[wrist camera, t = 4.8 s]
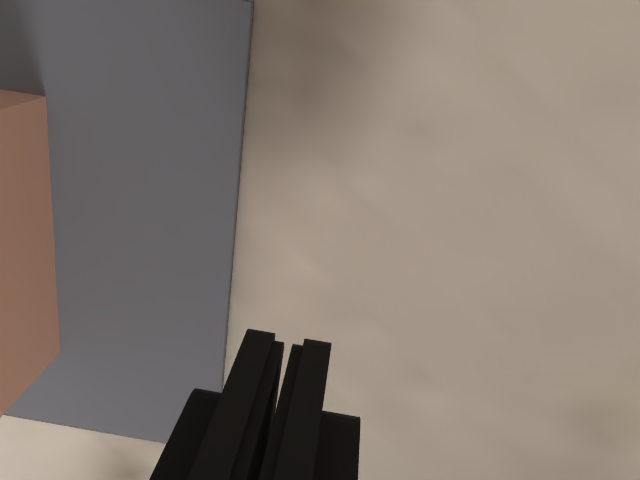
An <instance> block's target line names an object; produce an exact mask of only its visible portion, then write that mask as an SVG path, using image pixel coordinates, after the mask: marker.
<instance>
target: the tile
mask: <svg viewBox="0 0 640 480" xmlns="http://www.w3.org/2000/svg"><path fill="white" fill-rule="evenodd" d="M59 352H60V338H59V321H58V303H57V285H56V267H55V249H54V231H53V213H52V195H51V178H50V160H49V142H48V124H47V106H46V96H40V95H33V94H27V93H20V92H14V91H8V90H1V89H0V417H1V416H2V415H3V414H4V413H5V412H6V411H7V410H8V409H9V408H10V406H11V405H12V404H13V403H14V402H15V401H16V400H17V399H18V398H19V396H20V395H21V394H22V393H23V392H24V391H25V390H26V389H27V388H28V387H29V385H30V384H31V383H32V382H33V381H34V380H35V379H36V378H37V377H38V376H39V374H40V373H41V372H42V371H43V370H44V369H45V368H46V367H47V366H48V364H49V363H50V362H51V361H52V360H53V359H54V358H55V357H56V356H57V355H58V353H59Z"/></svg>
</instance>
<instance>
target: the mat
mask: <svg viewBox="0 0 640 480" xmlns="http://www.w3.org/2000/svg"><path fill="white" fill-rule="evenodd" d="M253 8H254V2H252V1H245V0H0V89H1V90H8V91H14V92H20V93H27V94H33V95H40V96H46V106H47V124H48V142H49V160H50V178H51V195H52V213H53V231H54V249H55V267H56V285H57V303H58V321H59V338H60V352H59V353H58V355H57V356H56V357H55V358H54V359H53V360H52V361H51V362H50V363H49V364H48V366H47V367H46V368H45V369H44V370H43V371H42V372H41V373H40V374H39V376H38V377H37V378H36V379H35V380H34V381H33V382H32V383H31V384H30V385H29V387H28V388H27V389H26V390H25V391H24V392H23V393H22V394H21V395H20V396H19V398H18V399H17V400H16V401H15V402H14V403H13V404H12V405H11V406H10V408H9V409H8V410H7V411H6V412H5V413H4V414H3V415H7V416H12V417H18V418H24V419H29V420H35V421H41V422H46V423H52V424H58V425H64V426H69V427H75V428H81V429H86V430H92V431H98V432H103V433H109V434H115V435H120V436H126V437H132V438H137V439H143V440H149V441H154V442H160V443H166V444H167V442H168V440H169V438H170V436H171V433H172V431H173V429H174V427H175V425H176V423H177V421H178V419H179V417H180V415H181V413H182V410H183V408H184V406H185V404H186V402H187V400H188V398H189V396H190V394H191V392H192V391H193V390H194V389H195V388H198V389H203V390H209V391H214V392H220V393H222V391H223V379H224V366H225V354H226V342H227V329H228V317H229V305H230V292H231V280H232V268H233V255H234V243H235V230H236V218H237V206H238V193H239V181H240V169H241V156H242V144H243V132H244V119H245V107H246V95H247V82H248V70H249V58H250V45H251V33H252V21H253Z"/></svg>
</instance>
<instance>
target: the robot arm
mask: <svg viewBox="0 0 640 480" xmlns="http://www.w3.org/2000/svg"><path fill="white" fill-rule="evenodd" d="M283 351H284V342H279V341H275V333H270V332H264V331H258V330H253V329H247V331H246V334H245V336H244V339H243V341H242V344H241V346H240V349H239V351H238V354H237V356H236V359H235V361H234V364H233V366H232V369H231V371H230V374H229V376H228V379H227V381H226V384H225V386H224V389H223V391H222V393H220V392H214V391H209V390H203V389H198V388H195V389H194V390H193V391H192V392H191V394H190V396H189V398H188V400H187V402H186V404H185V406H184V408H183V410H182V413H181V415H180V417H179V419H178V421H177V423H176V425H175V427H174V429H173V431H172V433H171V436H170V438H169V440H168V442H167V444H166V446H165V448H164V450H163V452H162V454H161V456H160V459H159V461H158V463H157V465H156V467H155V469H154V471H153V473H152V475H151V477H150V479H149V480H358V463H359V442H360V417H356V416H350V415H344V414H339V413H333V412H327V411H322V408H323V401H324V394H325V387H326V379H327V372H328V365H329V358H330V351H331V343H328V342H322V341H316V340H310V339H304V343H303V346H302V345H296V344H293V345H292V348H291V352H290V356H289V360H288V364H287V368H286V372H285V376H284V380H283V384H282V388H281V392H280V396H279V400H278V404H277V408H276V402H277V395H278V388H279V380H280V373H281V366H282V358H283ZM275 410H276V412H275Z"/></svg>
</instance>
